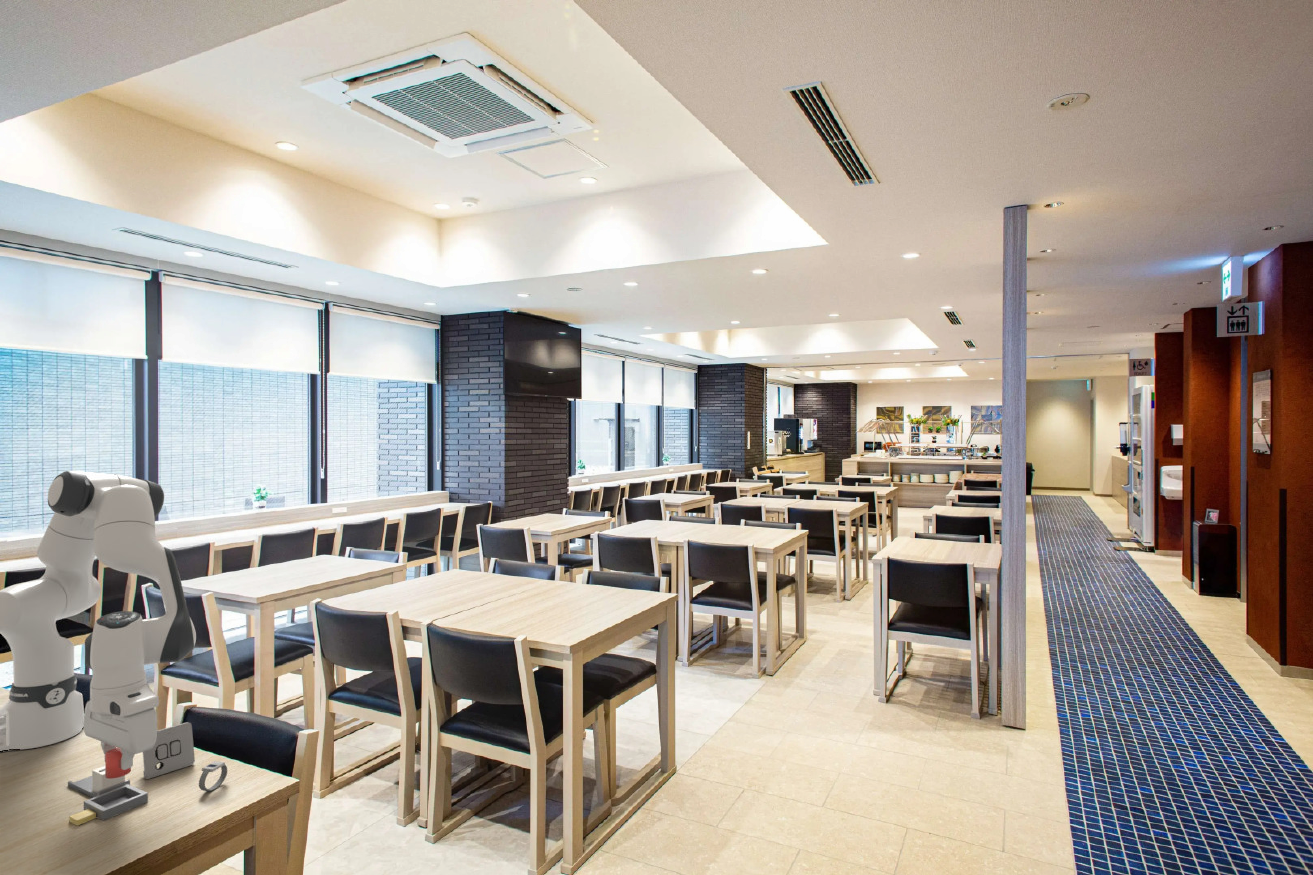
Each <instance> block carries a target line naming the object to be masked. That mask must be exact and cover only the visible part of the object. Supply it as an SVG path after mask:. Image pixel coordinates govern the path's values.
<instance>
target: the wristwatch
mask: <svg viewBox="0 0 1313 875" xmlns="http://www.w3.org/2000/svg"><path fill="white" fill-rule="evenodd" d="M219 769H220V770H221V773H220V776H219V778H218V780H217V781H216V782H215V783H214V784H213V785H212V786H210V787H209V788H207V787H206V779H207V777H208V775H209V773H213V772H215V771H216V770H219ZM201 772H202V773H201V775H200V777H199V780H198V788H199V789H200V790H201V791H204V792H205V791H206V792H213V791H215V790H216V789H217V788H219V787H220V786H221V785H222V784H223V783H224V781H225V780H226V777H227V775H228V767H227V765H226V762H225V761H217V760H214V761H213V762H210V763H209V764H207V765H205V766H204V767H201Z"/></svg>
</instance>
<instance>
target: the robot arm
mask: <svg viewBox="0 0 1313 875" xmlns="http://www.w3.org/2000/svg"><path fill="white" fill-rule="evenodd" d="M164 492H165V491H164V490H163V488H162V485H161V484H158V483H157V482H153V481H150V480H147V479H140V478H139V479H138V478H135V477H132V476H126V475H121V474H109V473H101V472H85V471H83V470H66V471H63V472H61V473H60V474H58V475H57V476H56V477H55V478H54V480H52V482H51V484H50V486H49V488H48V491H47V505H48V506H49V508H50V509H51V511H52V512H54V513H53V515H52V517H51V519H50V522H48V526H47V527H46V529H45V531H44V534H43V537H42V538H41V542H40V543H39V546H38V547H37V551H36V556H37V558H38V560H40V562H41V563H42V564H43V565H45V566H46V567H45V572H44V574H43V575H42V576H41V577H40V578H38V579H33V580H29V581H26V582H21V583H20V582H19V583H16V584H13V585H10V586H7V587H4V588H2V589H1V590H0V634H1V635H2V637H3V638H4V639H5V640H6V642H7V644H8V645H9V647H10V650H11V655H12V667H13V682H12V683H11V686H10V689H9V696H8V701H7V702H6V703H5V704H4V705H3V706H2V707H0V751H2V750H8V751H10V750H9V749H20V750H29V749H34V748H41V747H46V746H50V745H52V744H57V743H60V742H63V741H65V740H67V739H70V738H73V737H74V736H76V735H78V734H80V733H81V732H82V731H83V733H84V735H85V736H87V737H88V738H91V739H94V740H97V741H100V747H101V749H102V752H103V754H104V755H105V753H106V752H108V751H109V750H112V749H115V748H120V749H121V753H123V754H122V758H121V760H119V768H121V769H123V770H126V769H128V768H131V769H132V768H133V766H134V758H135V755H137V754H140V753H143V752H144V751H146V750H149V749H151V748H153V746H154V745H155V743H156V738H157V731H158V714H157V711H156V709H155V708H157V707H159V705H160V699H159V697H160V696H158V694H156V692H155V691H153V690H152V689H151V687H150V685H149V683H147V672H146V669H145V666H146V665H153V664H169V663H178V662H180V661H182V660H183V659H184V658H186V657H187V656H188V655H189V654H191V653H192V651H193V650H195V645H196V640H197V632H196V629H195V626H194V623H193V621H192V618H191V617H190V613H189V610H188V606H187V600H186V598H185V592H184V588H183V584H182V580H181V576H180V572H179V568H178V565H177V561H176V558H175V555H174V554H173V551H172V550H171V549H170V548H167V547H165V546H163V545H162V544H161V543H160V542H159V540H158V539H157V535H156V519H155V518H156V517H158V515H159V514H160V513H161V511H162V509H163V506H164V503H165V502H164V501H165V493H164ZM95 558H96V559H97V560H98V561H99V562H100V563H101V564H103V565H104V566H106V567H107V568H110V569H112V570H115V571H118V572H122V573H127V574H133V575H136V576H137V575H138V576H141V577H146V578H147V579H151V580H153V581H154V582H155V583H156V584H157V585H158V586H159V589H160V594H161V598H162V602H163V606H164V610H165V614H163V615H162V616H158V617H151V618H144V619H143V617H142V615H141V613H139V612H136V611H129V610H128V611H127V610H125V611H124V610H122V611H114V612H111V613H107V614H105V615H103V616H100V617H99V618H98V619H96V621H95V622H94V626H93V630H92V632H91V633H90V634H88V636H87V637H86V638H85V640H84V665H85V666H86V667H87V668H89V669H90V670H92V677H91V680H90V683H89V700H87V702H86V703H85V708H84V698H83V694H82V693H81V692H79V691H77V690H76V689H77V684H78V683H77V682H78V679H77V674H76V673H75V645H74V643H73V642H72V641H71V640H70V639H68V638H66V637H63V636H61V635H60V634H59V632H58V630H57V624H56V622H57V621H59V620H62V619H63V620H64V619H67V618H70V617H73V616H76V615H79V614H80V613H82V612H84V611H86V610H88V609H90V608H91V607H93V606H94V605H95V604H97V602H98V601H99V600H100V597H101V593H102V590H101V589H102V588H101V585H100V582H99V580H98V579H97V578H96V577H95V576H94V574H93V565H94V561H95ZM83 727H84V728H83ZM82 728H83V729H82Z"/></svg>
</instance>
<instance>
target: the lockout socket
mask: <svg viewBox="0 0 1313 875" xmlns="http://www.w3.org/2000/svg"><path fill="white" fill-rule="evenodd" d="M148 802H149V792H147V791H144V790H141V789H140V788H137V787H135V786H133V785H131V784H130V785H129V784H127V785H124V786H122V787H119V788H117V789H114V790H112V791H109V792H106V793H104V794H101V795H99V796H96V797H94V798H91V797H90V798H89V799H86V800H84V801H83V810H82V811H79V812H77V813H74V814H72V815H69V820H68V821H69V822H70V823H71V824H73V825H75V826H79V825H82V824H85V823H87V822H89V821H92V820H94V819H96V818H97V819H99V820H101V821H105V820H108V819H110V818H112V817H113V818H114V817H115V816H118V815H120V814H123V813H124V812H125V813H126V812H128V811H129V810H132V809H134V808H137V807H140V806H141V805H144V804H147V803H148Z"/></svg>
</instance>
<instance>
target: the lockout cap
mask: <svg viewBox="0 0 1313 875" xmlns="http://www.w3.org/2000/svg"><path fill="white" fill-rule="evenodd" d="M122 754H123V753H121V749H120V748H117V747H116V748H115V749H112V750H109V751H108V752H106V753H105V754H104V763H105V764H104V766H105V777H106V778H108V779H112V778H118V777H122V776H124V775H125V776H126V775H128V774H130V773H131V771H132V767H131V768H128V769H126V770H123V769H121V768H119V760H121V758H122Z"/></svg>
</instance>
